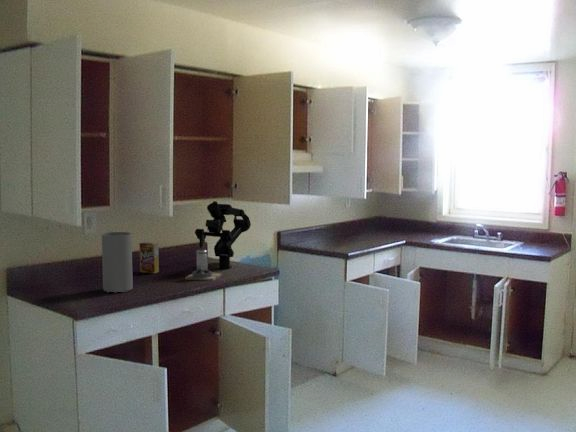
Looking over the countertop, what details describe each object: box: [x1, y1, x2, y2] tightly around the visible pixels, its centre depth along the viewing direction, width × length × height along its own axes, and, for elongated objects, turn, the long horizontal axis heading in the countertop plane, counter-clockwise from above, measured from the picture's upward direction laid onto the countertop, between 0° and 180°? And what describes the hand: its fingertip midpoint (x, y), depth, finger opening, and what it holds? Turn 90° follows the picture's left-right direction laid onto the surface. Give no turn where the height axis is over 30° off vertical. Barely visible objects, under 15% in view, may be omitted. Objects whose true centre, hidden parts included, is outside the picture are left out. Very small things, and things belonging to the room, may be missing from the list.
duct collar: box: [192, 270, 213, 278], centre depth 283 cm, size 9×9×2 cm
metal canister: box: [195, 249, 209, 274], centre depth 283 cm, size 6×6×12 cm
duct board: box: [184, 272, 223, 282], centre depth 286 cm, size 14×14×1 cm
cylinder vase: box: [101, 231, 134, 294], centre depth 256 cm, size 12×12×25 cm
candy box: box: [139, 241, 160, 274], centre depth 296 cm, size 9×4×15 cm, turn 69°
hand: (208, 248), depth 291 cm, fingers open, 9 cm apart
